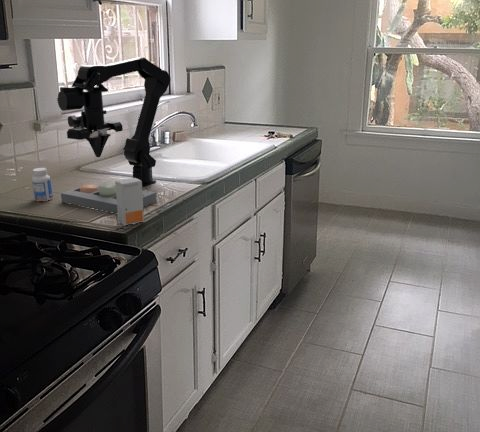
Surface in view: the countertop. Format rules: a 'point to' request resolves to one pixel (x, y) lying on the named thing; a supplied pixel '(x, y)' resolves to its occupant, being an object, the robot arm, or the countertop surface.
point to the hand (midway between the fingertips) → (98, 157)
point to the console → (100, 199)
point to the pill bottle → (41, 185)
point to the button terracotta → (89, 188)
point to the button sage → (107, 190)
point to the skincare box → (129, 201)
